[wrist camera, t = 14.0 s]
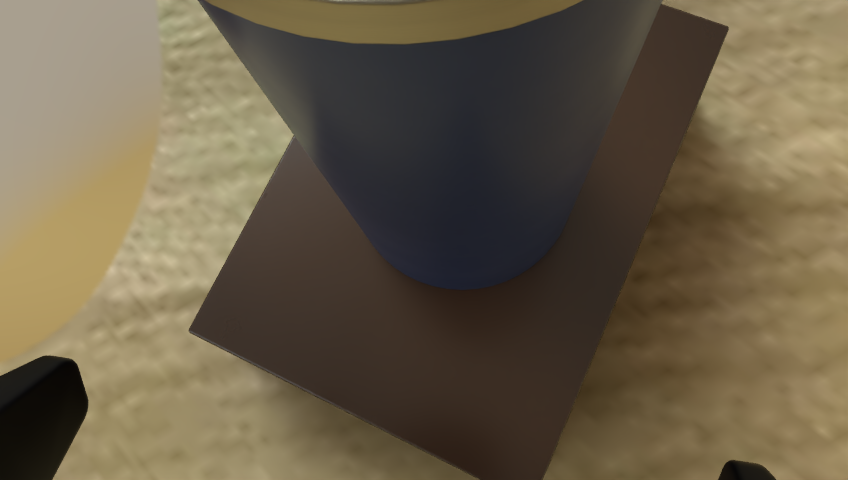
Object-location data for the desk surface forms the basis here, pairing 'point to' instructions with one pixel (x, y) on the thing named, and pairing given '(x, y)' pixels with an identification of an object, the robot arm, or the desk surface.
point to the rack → (459, 309)
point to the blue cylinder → (446, 115)
